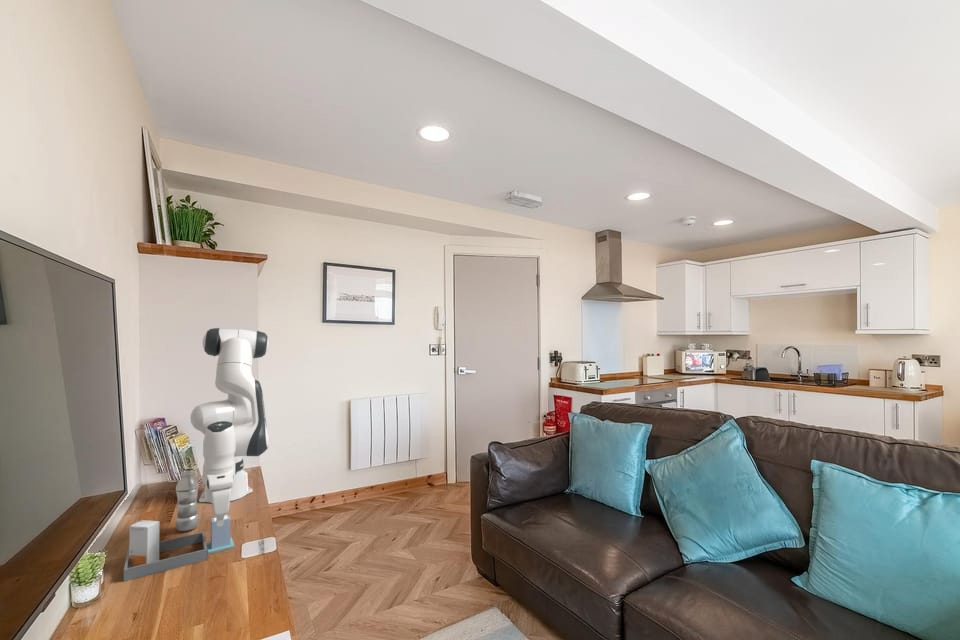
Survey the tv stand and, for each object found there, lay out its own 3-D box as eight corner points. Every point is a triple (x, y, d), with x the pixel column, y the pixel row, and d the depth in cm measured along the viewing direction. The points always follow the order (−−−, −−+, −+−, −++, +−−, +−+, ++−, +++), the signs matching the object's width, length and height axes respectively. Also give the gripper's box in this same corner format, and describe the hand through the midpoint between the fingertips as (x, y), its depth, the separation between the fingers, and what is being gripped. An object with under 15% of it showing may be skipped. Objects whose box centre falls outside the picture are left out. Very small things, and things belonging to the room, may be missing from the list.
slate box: (210, 543, 139) (210, 517, 139) (228, 539, 141) (229, 514, 142) (211, 549, 135) (211, 522, 135) (230, 544, 138) (230, 518, 138)
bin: (127, 559, 131) (127, 548, 131) (204, 540, 142) (204, 531, 142) (123, 581, 119) (123, 570, 119) (207, 559, 130) (207, 549, 130)
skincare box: (128, 568, 126) (128, 525, 126) (141, 560, 130) (142, 519, 130) (147, 570, 125) (147, 527, 125) (160, 562, 129) (160, 520, 129)
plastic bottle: (202, 528, 151) (203, 469, 151) (180, 535, 145) (181, 474, 146) (193, 523, 155) (194, 465, 155) (171, 531, 149) (172, 471, 149)
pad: (206, 545, 139) (206, 543, 139) (231, 538, 143) (231, 537, 143) (208, 554, 133) (207, 552, 133) (234, 547, 137) (234, 545, 137)
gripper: (205, 467, 145) (204, 510, 145) (209, 487, 129) (208, 535, 129) (227, 464, 149) (227, 505, 149) (234, 483, 132) (233, 529, 132)
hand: (218, 519), depth 139 cm, fingers open, 8 cm apart
